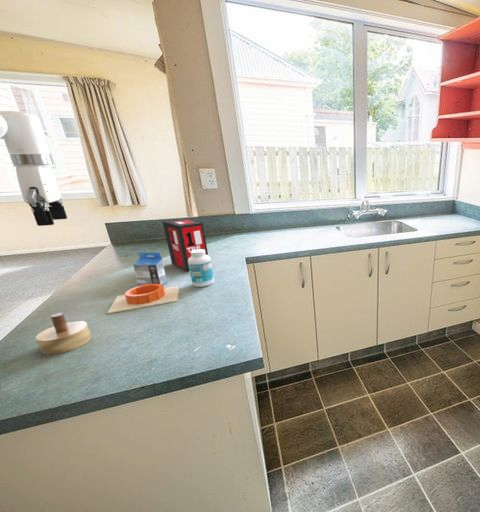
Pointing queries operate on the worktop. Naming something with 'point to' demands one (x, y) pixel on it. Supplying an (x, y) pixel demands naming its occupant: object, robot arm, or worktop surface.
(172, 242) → the cleaning product box
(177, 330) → the worktop surface
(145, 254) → the label tape box
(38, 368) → the worktop surface
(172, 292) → the mat
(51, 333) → the stake stand
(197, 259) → the pill bottle
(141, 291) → the ring
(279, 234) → the worktop surface
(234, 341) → the worktop surface
